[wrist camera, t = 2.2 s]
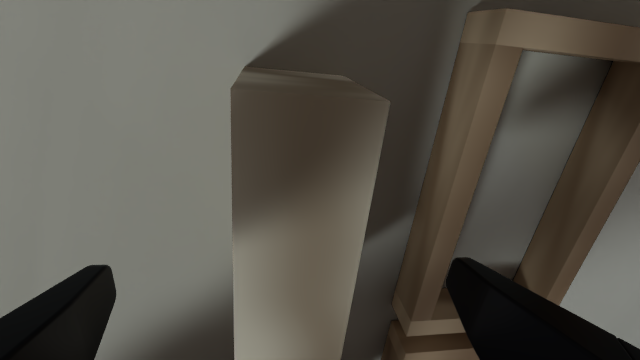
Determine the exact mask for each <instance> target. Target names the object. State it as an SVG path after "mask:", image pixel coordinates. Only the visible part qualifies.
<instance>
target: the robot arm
mask: <svg viewBox="0 0 640 360" xmlns="http://www.w3.org/2000/svg"><path fill="white" fill-rule="evenodd" d="M446 286H447V289H448V292H449V294H450V297H451V299H452V301H453V304H454V306H455V308H456V311H457V313H458V316H459V318H460V320H461V323H462V325H463V327H464V330H465V332H466V334H467V336H468V339H469V341H470V343H471V345H472V347H473V348H474V350H475V352H476V354H477V356H478V358H479V360H640V349H639V348H637V347H635V346H633V345H631V344H629V343H627V342H626V341H624V340H622V339H620V338H616V337H615V336H614V335H612V334H611V333H609V332H607V331H605V330H603V329H601V328H599V327H598V326H596V325H594V324H592V323H590V322H588V321H586V320H585V319H583V318H581V317H579V316H577V315H575V314H573V313H572V312H570V311H568V310H566V309H564V308H562V307H560V306H559V305H557V304H555V303H553V302H551V301H549V300H547V299H545V298H544V297H542V296H540V295H538V294H536V293H534V292H532V291H531V290H529V289H527V288H525V287H523V286H521V285H519V284H518V283H516V282H514V281H512V280H510V279H508V278H506V277H505V276H503V275H501V274H499V273H497V272H495V271H493V270H492V269H490V268H488V267H486V266H484V265H482V264H480V263H479V262H477V261H475V260H473V259H471V258H468V257H460V258H455V259H454V260H453V261H452V264H451V267H450V270H449V273H448V276H447V279H446ZM115 300H116V288H115V283H114V279H113V274H112V270H111V268H110V266H108V265H90V266H87V267H85V268H83V269H82V270H80V271H78V272H77V273H75V274H73V275H72V276H70V277H68V278H67V279H65V280H63V281H62V282H60V283H58V284H57V285H55V286H53V287H52V288H50V289H48V290H47V291H45V292H43V293H42V294H40V295H38V296H37V297H35V298H33V299H32V300H30V301H28V302H27V303H25V304H23V305H22V306H20V307H18V308H17V309H15V310H13V311H12V312H10V313H8V314H6V315H5V316H3V317H1V318H0V360H94V359H95V356H96V353H97V350H98V348H99V345H100V342H101V339H102V337H103V334H104V331H105V328H106V325H107V323H108V320H109V317H110V314H111V311H112V309H113V306H114V303H115Z"/></svg>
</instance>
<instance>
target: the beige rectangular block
mask: <svg viewBox="0 0 640 360" xmlns="http://www.w3.org/2000/svg"><path fill="white" fill-rule="evenodd" d="M390 102H391V101H389V100H387V99H385V98H383V97H381V96H380V95H378V94H376V93H374V92H372V91H370V90H369V89H367V88H365V87H363V86H361V85H359V84H358V83H356V82H354V81H352V80H350V79H348V78H347V77H345V76H342V75H331V74H321V73H310V72H299V71H288V70H278V69H267V68H256V67H246V66H245V67H244V69H243V70H242V72H241V73H240V75H239V76H238V78H237V80H236V81H235V83H234V84H233V86H232V87H231V155H232V228H233V300H234V360H341V355H342V350H343V345H344V340H345V335H346V330H347V324H348V319H349V314H350V309H351V304H352V299H353V293H354V288H355V283H356V278H357V273H358V268H359V262H360V257H361V252H362V247H363V242H364V237H365V231H366V226H367V221H368V216H369V211H370V206H371V200H372V195H373V190H374V185H375V180H376V175H377V170H378V164H379V159H380V154H381V149H382V144H383V139H384V133H385V128H386V123H387V118H388V113H389V108H390Z"/></svg>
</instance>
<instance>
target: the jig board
mask: <svg viewBox="0 0 640 360" xmlns="http://www.w3.org/2000/svg"><path fill="white" fill-rule="evenodd" d="M522 50H526V51H534V52H542V53H551V54H559V55H568V56H576V57H584V58H593V59H601V60H610V61H613V63H612V65H611V68H610V70H609V72H608V74H607V76H606V79H605V81H604V83H603V85H602V87H601V90H600V92H599V94H598V96H597V98H596V100H595V103H594V105H593V107H592V109H591V111H590V114H589V116H588V118H587V120H586V122H585V125H584V127H583V129H582V131H581V133H580V135H579V138H578V140H577V142H576V144H575V146H574V149H573V151H572V153H571V155H570V157H569V159H568V162H567V164H566V166H565V168H564V170H563V173H562V175H561V177H560V179H559V181H558V184H557V186H556V188H555V190H554V192H553V194H552V197H551V199H550V201H549V203H548V205H547V208H546V210H545V212H544V214H543V216H542V219H541V221H540V223H539V225H538V227H537V229H536V232H535V234H534V236H533V238H532V240H531V243H530V245H529V247H528V249H527V251H526V254H525V256H524V258H523V260H522V262H521V264H520V267H519V269H518V271H517V273H516V275H515V278H514V280H513V281H514V282H516V283H518V284H519V285H521V286H523V287H525V288H527V289H529V290H531V291H532V292H534V293H536V294H538V295H540V296H542V297H544V298H545V299H547V300H549V301H551V302H553V303H555V304H557V305H560V303H561V301H562V299H563V297H564V296H565V294H566V292H567V290H568V289H569V287H570V285H571V283H572V281H573V280H574V278H575V276H576V274H577V272H578V271H579V269H580V267H581V265H582V263H583V262H584V260H585V258H586V256H587V255H588V253H589V251H590V249H591V247H592V246H593V244H594V242H595V240H596V238H597V237H598V235H599V233H600V231H601V229H602V228H603V226H604V224H605V222H606V221H607V219H608V217H609V215H610V213H611V212H612V210H613V208H614V206H615V204H616V203H617V201H618V199H619V197H620V195H621V194H622V192H623V190H624V188H625V186H626V185H627V183H628V181H629V179H630V178H631V176H632V174H633V172H634V170H635V169H636V167H637V165H638V163H639V161H640V27H633V26H626V25H619V24H612V23H605V22H598V21H592V20H585V19H578V18H571V17H564V16H557V15H551V14H544V13H537V12H530V11H523V10H516V9H509V8H503V9H494V10H484V11H475V12H468V14H467V18H466V22H465V26H464V29H463V33H462V37H461V41H460V45H459V49H458V52H457V56H456V60H455V64H454V68H453V72H452V75H451V79H450V83H449V87H448V91H447V94H446V98H445V102H444V106H443V110H442V114H441V117H440V121H439V125H438V129H437V133H436V136H435V140H434V144H433V148H432V152H431V156H430V159H429V163H428V167H427V171H426V175H425V178H424V182H423V186H422V190H421V194H420V198H419V201H418V205H417V209H416V213H415V217H414V221H413V224H412V228H411V232H410V236H409V240H408V243H407V247H406V251H405V255H404V259H403V263H402V266H401V270H400V274H399V278H398V282H397V285H396V289H395V293H394V297H393V301H392V306H393V309H394V311H395V313H396V315H397V317H398V319H399V320H396V321H391V324H390V328H389V332H388V335H387V339H386V343H385V346H384V350H383V354H382V358H381V360H479V358H478V356H477V354H476V352H475V350H474V348H473V347H472V345H471V343H470V341H469V339H468V336H467V334H466V332H465V330H464V327H463V325H462V323H461V320H460V318H459V316H458V313H457V311H456V308H455V306H454V304H453V301H452V299H451V297H450V294H449V292H448V289H447V288H442V285H443V282H444V280H445V277H446V274H447V271H448V268H449V265H450V262H451V259H452V256H453V253H454V250H455V247H456V244H457V241H458V238H459V235H460V233H461V230H462V227H463V224H464V221H465V218H466V215H467V212H468V209H469V206H470V203H471V200H472V197H473V194H474V191H475V188H476V186H477V183H478V180H479V177H480V174H481V171H482V168H483V165H484V162H485V159H486V156H487V153H488V150H489V147H490V144H491V141H492V139H493V136H494V133H495V130H496V127H497V124H498V121H499V118H500V115H501V112H502V109H503V106H504V103H505V100H506V97H507V94H508V91H509V89H510V86H511V83H512V80H513V77H514V74H515V71H516V68H517V65H518V62H519V59H520V56H521V53H522Z"/></svg>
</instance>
